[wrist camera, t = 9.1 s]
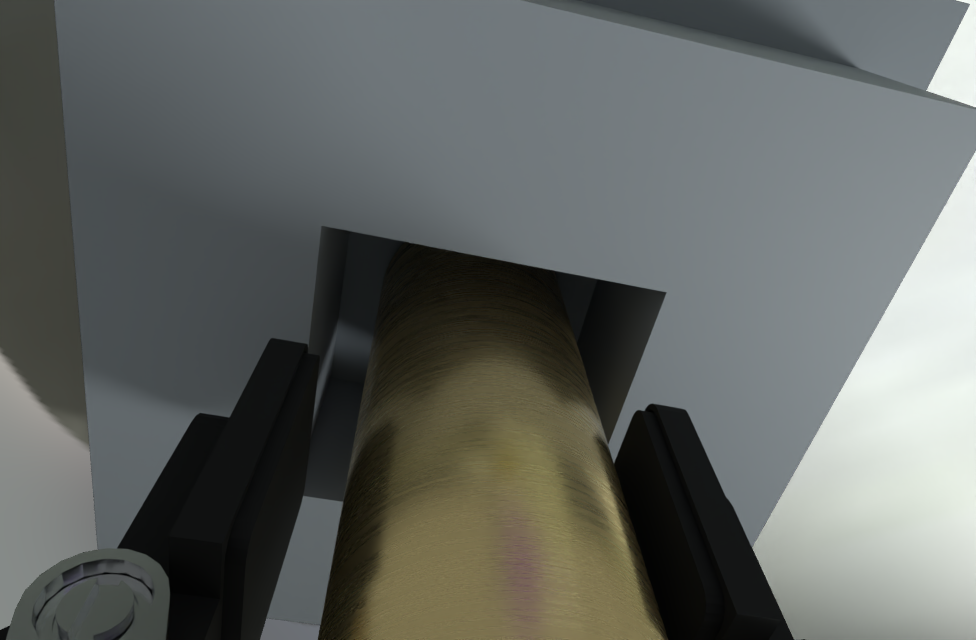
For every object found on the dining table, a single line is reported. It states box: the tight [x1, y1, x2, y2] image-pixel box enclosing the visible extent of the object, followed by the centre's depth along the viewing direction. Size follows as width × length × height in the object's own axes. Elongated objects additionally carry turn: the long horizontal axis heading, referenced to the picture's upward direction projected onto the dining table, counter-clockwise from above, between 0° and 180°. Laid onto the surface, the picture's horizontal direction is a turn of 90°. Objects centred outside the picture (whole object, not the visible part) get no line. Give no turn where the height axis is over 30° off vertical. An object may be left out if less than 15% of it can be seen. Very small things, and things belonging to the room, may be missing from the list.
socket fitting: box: [54, 0, 976, 625], centre depth 14 cm, size 16×16×5 cm
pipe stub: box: [318, 242, 668, 640], centre depth 10 cm, size 4×4×12 cm
